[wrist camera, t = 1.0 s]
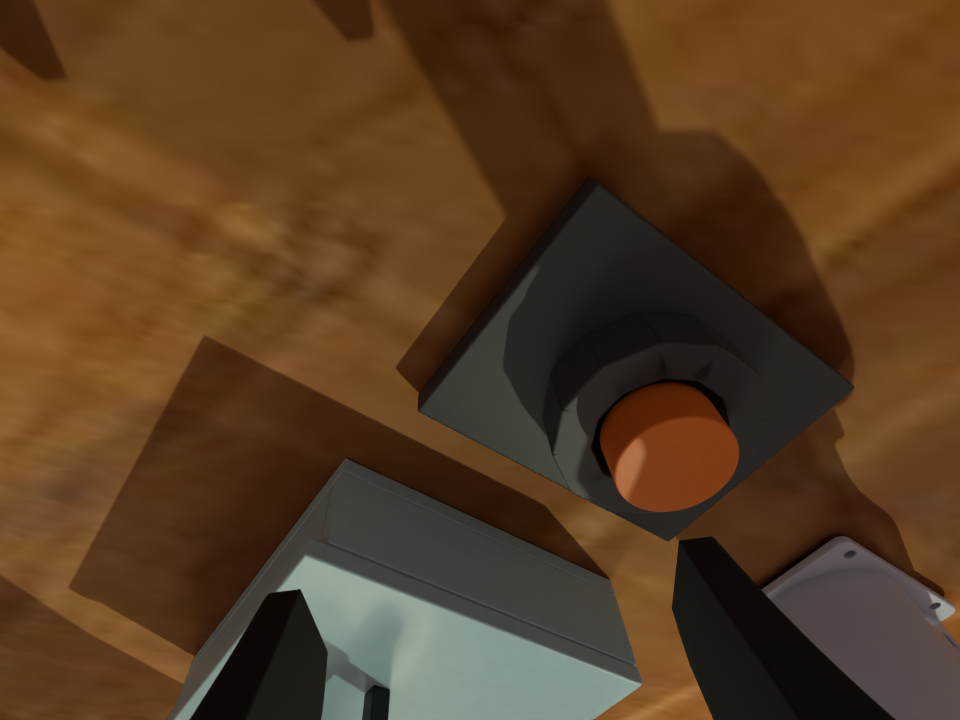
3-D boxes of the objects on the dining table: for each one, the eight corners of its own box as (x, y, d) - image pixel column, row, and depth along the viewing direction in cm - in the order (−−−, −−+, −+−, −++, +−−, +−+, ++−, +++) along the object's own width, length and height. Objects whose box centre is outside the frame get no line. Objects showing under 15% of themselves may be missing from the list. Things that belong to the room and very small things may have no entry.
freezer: (193, 657, 26) (158, 750, 23) (345, 457, 21) (327, 541, 17) (434, 727, 31) (434, 813, 27) (611, 580, 25) (637, 665, 22)
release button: (738, 415, 17) (766, 453, 16) (656, 488, 19) (675, 528, 17) (656, 361, 16) (679, 395, 15) (575, 443, 18) (588, 482, 16)
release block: (838, 372, 20) (897, 423, 17) (660, 523, 24) (687, 585, 21) (589, 174, 16) (618, 204, 13) (417, 394, 19) (414, 451, 17)
